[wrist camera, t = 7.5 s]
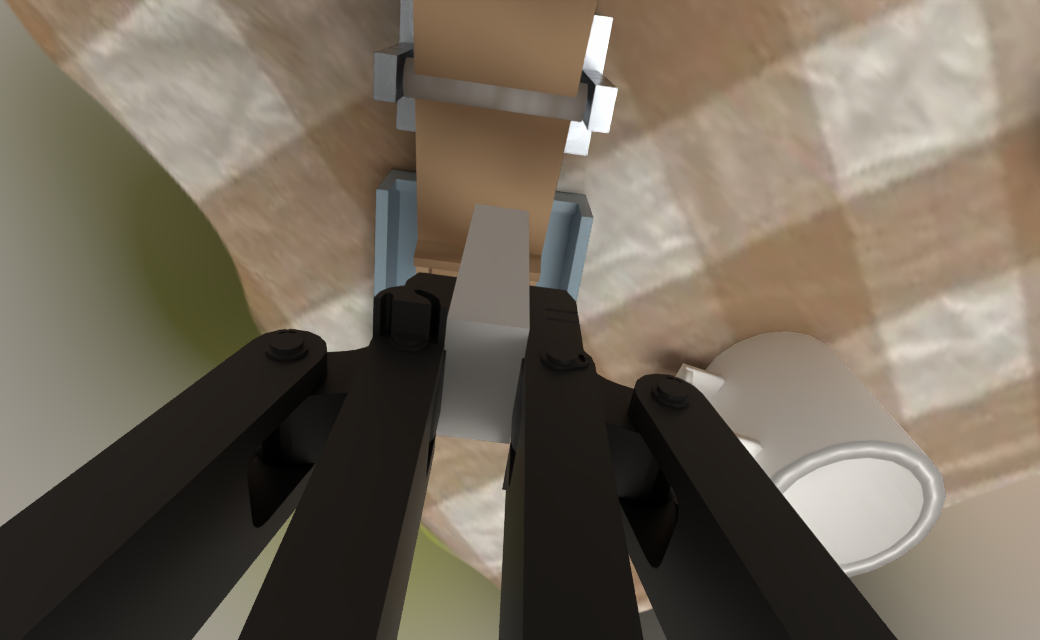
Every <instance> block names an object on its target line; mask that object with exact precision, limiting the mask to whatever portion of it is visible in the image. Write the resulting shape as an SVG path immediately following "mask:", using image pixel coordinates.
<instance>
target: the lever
mask: <svg viewBox="0 0 1040 640" xmlns="http://www.w3.org/2000/svg"><path fill="white" fill-rule="evenodd" d="M597 1H598V0H413V22H414V58H409V57H407V58H406V60H405V65H404V72H403V93H404V97H408V98H415V127H416V179H417V231H418V240H417V244H416V249H415V253H414V257H413V259H414V266H415V267H416V274H417V273H419V272H423V273H430V274H438V275H445V276H453V277H457V276H458V272H459V268H460V264H461V260H462V256H463V252H464V248H465V244H466V240H467V236H468V232H469V228H470V224H471V220H472V216H473V212H474V208H475V204H482V205H489V206H496V207H503V208H510V209H517V210H524V211H529V285H531V286H536V282H539V278H540V274H541V255H542V251H543V246H544V242H545V237H546V232H547V228H548V223H549V219H550V214H551V210H552V205H553V201H554V196H555V192H556V187H557V182H558V178H559V173H560V169H561V164H562V160H563V155H564V151H565V146H566V142H567V137H568V133H569V128H570V123H571V121H575V122H582V119H583V116H584V112H585V107H586V101H587V93H588V84H585V83H580V78H581V73H582V69H583V64H584V60H585V55H586V51H587V46H588V42H589V37H590V33H591V28H592V24H593V19H594V14H595V10H596V5H597Z"/></svg>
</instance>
